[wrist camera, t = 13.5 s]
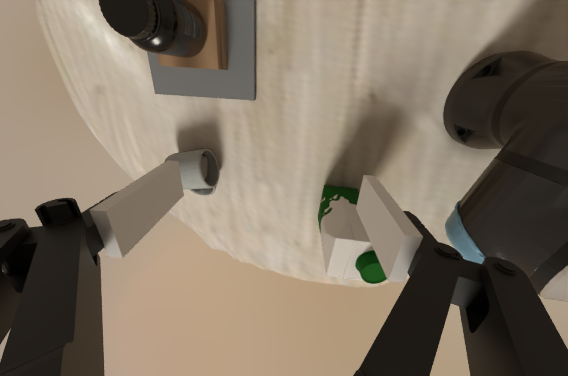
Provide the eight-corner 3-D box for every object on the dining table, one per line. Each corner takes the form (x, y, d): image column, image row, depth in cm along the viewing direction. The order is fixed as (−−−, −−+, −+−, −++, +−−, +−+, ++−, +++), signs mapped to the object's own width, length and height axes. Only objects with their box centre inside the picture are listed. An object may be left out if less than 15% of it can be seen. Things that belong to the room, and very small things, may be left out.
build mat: (255, -33, 32) (253, -36, 31) (255, 99, 40) (254, 100, 40) (134, -39, 33) (129, -42, 32) (158, 93, 41) (155, 93, 40)
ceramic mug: (174, 149, 46) (152, 163, 39) (212, 143, 45) (196, 156, 38) (192, 194, 50) (176, 213, 44) (226, 189, 49) (215, 208, 42)
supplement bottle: (168, -13, 29) (93, -66, 18) (215, 20, 30) (170, -11, 20) (153, 40, 32) (80, 21, 21) (197, 68, 33) (149, 64, 23)
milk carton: (352, 219, 51) (382, 296, 33) (313, 215, 51) (322, 289, 33) (362, 185, 47) (402, 251, 29) (320, 180, 47) (333, 243, 29)
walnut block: (224, 3, 34) (213, -9, 29) (227, 70, 38) (218, 69, 33) (166, -1, 34) (146, -13, 29) (175, 66, 38) (159, 65, 33)
